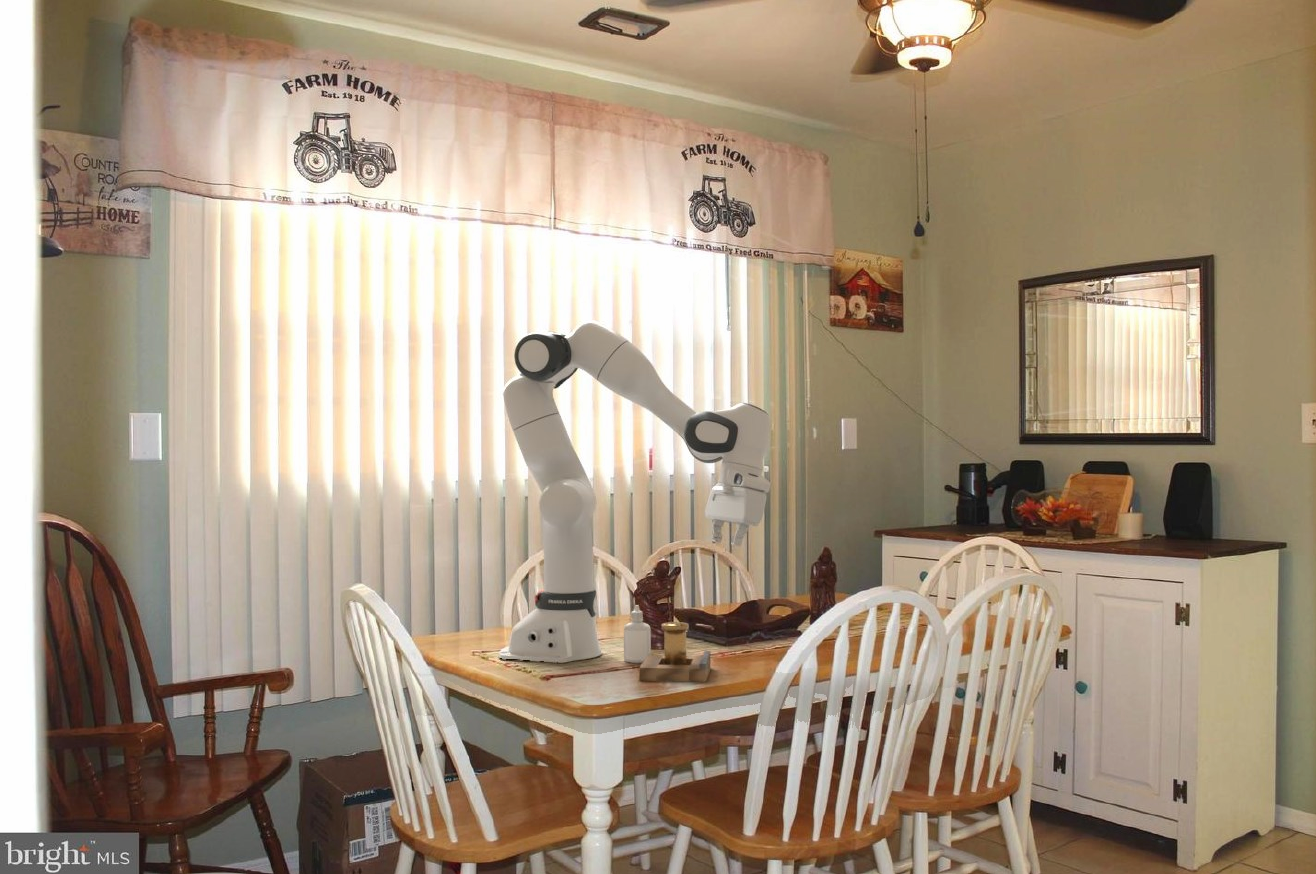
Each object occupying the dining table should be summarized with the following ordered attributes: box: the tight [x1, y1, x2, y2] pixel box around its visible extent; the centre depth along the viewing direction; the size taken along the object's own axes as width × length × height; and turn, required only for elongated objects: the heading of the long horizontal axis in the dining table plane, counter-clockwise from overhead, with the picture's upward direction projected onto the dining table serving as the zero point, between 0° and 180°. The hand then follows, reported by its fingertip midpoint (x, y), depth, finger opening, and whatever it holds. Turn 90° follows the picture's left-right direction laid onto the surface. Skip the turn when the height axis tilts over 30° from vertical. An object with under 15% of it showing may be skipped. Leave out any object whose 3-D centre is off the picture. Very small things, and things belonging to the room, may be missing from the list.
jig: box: [638, 650, 711, 683], centre depth 207 cm, size 13×13×4 cm
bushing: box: [661, 621, 689, 665], centre depth 208 cm, size 5×5×10 cm
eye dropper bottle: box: [623, 604, 652, 664], centre depth 221 cm, size 4×6×12 cm
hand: (725, 543), depth 218 cm, fingers open, 8 cm apart
